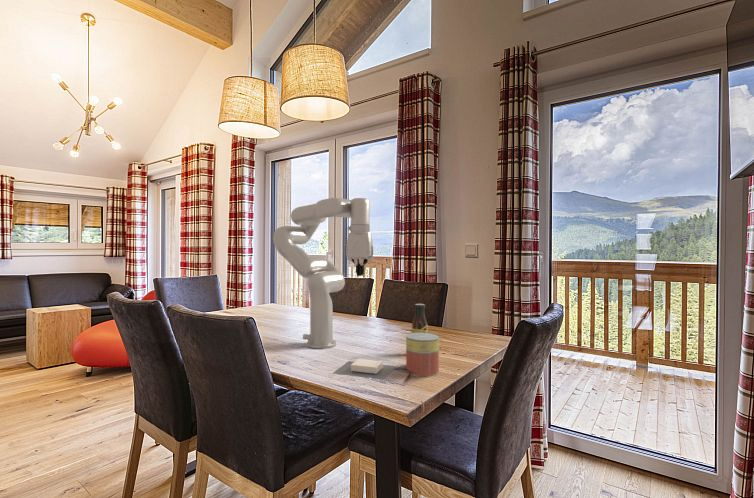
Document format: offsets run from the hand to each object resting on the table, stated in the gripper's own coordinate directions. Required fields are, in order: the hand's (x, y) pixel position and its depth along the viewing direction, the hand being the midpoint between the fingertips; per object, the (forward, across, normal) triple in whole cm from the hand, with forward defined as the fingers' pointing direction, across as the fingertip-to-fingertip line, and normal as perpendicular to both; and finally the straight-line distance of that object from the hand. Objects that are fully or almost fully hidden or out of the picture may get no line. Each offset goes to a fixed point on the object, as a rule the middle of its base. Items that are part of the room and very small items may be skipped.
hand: (360, 275), depth 152 cm
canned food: (+31, +28, -13) cm, 44 cm away
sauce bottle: (+31, +23, +6) cm, 39 cm away
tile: (+29, +6, -21) cm, 36 cm away
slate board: (+31, +10, -21) cm, 39 cm away
